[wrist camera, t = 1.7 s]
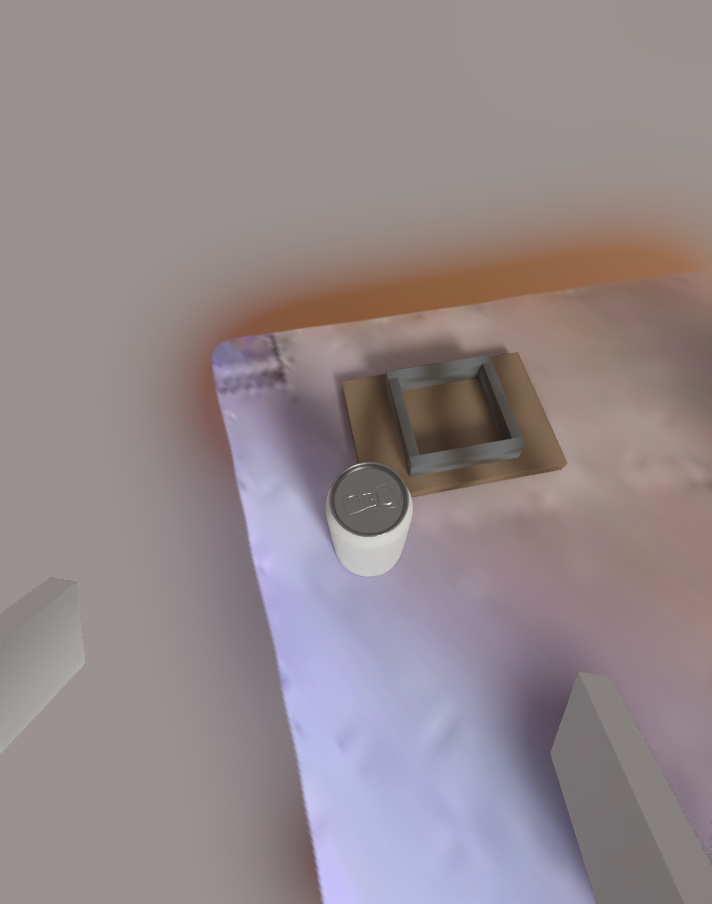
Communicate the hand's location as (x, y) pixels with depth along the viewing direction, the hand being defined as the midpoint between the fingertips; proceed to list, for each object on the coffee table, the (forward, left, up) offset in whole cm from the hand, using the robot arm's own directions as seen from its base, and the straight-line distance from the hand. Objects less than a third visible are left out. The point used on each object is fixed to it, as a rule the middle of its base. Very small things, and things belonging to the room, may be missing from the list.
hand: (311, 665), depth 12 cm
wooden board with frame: (-14, -21, -28) cm, 38 cm away
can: (-4, -10, -28) cm, 31 cm away
